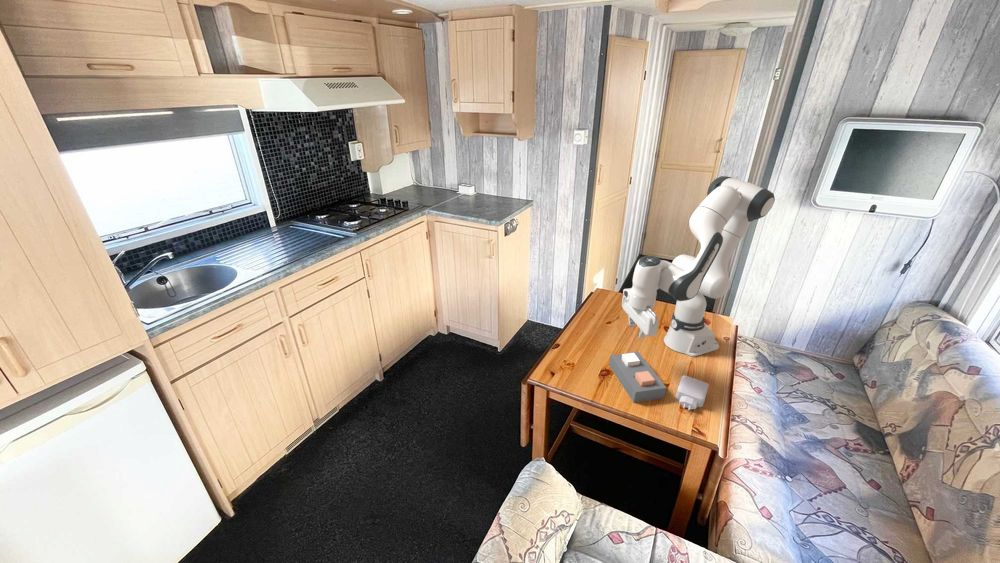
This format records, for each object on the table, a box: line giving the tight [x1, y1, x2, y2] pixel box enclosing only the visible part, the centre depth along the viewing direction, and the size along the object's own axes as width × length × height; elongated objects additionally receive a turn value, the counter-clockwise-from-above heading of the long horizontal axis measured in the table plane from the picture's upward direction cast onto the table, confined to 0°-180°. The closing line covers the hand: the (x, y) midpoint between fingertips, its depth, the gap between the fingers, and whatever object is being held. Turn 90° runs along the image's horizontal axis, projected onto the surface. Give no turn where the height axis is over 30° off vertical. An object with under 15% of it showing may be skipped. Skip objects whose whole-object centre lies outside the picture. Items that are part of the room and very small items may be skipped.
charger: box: [675, 375, 710, 411], centre depth 144 cm, size 5×9×15 cm
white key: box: [621, 352, 640, 367], centre depth 157 cm, size 5×5×3 cm
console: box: [608, 351, 667, 403], centre depth 153 cm, size 12×21×5 cm, turn 11°
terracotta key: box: [635, 371, 655, 387], centre depth 147 cm, size 5×5×3 cm
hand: (635, 331), depth 150 cm, fingers open, 5 cm apart
